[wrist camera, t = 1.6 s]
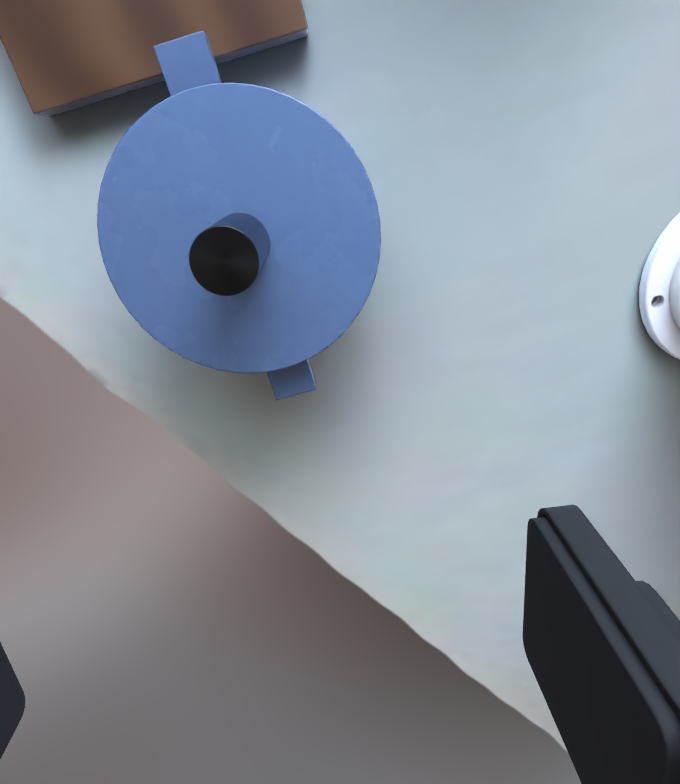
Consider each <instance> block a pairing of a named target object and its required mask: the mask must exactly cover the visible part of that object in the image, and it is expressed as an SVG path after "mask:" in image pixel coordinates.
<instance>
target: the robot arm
mask: <svg viewBox="0 0 680 784" xmlns="http://www.w3.org/2000/svg"><path fill="white" fill-rule="evenodd" d="M652 299H653V300H652ZM639 308H640V312H641V317H642V321H643V324H644V326H645V328H646V330H647V332H648V334H649V336H650V337H651V338H652V339H653V341H654V342H655V343H656V344H657V345H658V346H659V347H660V348H661V349H663V350H664V351H665V352H667V353H668V354H669V355H671V356H673V357H675V358H677V359H679V360H680V213H679V214H678V215H677V216H676V217H675V218H674V219H673V220H672V221H671V222H670V223H669V225H668V226H667V227H666V228H665V230H664V231H663V232H662V233H661V235H660V236H659V237H658V239H657V241H656V243H655V244H654V246H653V248H652V250H651V251H650V253H649V255H648V258H647V261H646V263H645V266H644V269H643V271H642V276H641V282H640V287H639ZM523 643H524V648H525V652H526V656H527V658H528V661H529V663H530V666H531V668H532V670H533V672H534V675H535V677H536V679H537V682H538V684H539V686H540V689H541V691H542V693H543V695H544V698H545V700H546V702H547V705H548V707H549V709H550V712H551V714H552V716H553V718H554V721H555V723H556V725H557V728H558V730H559V732H560V735H561V737H562V739H563V741H564V744H565V746H566V748H567V751H568V753H569V755H570V758H571V760H572V762H573V764H574V767H575V769H576V771H577V774H578V776H579V778H580V781H581V783H582V784H680V620H679V619H678V618H677V617H676V615H675V614H674V613H673V612H672V610H671V609H670V608H669V607H668V605H667V604H666V603H665V602H664V600H663V599H662V598H661V597H660V595H659V594H658V593H657V592H656V591H655V590H654V589H653V588H652V587H651V586H650V585H649V584H647V583H646V582H644V581H635V580H634V579H633V577H632V576H631V575H630V573H629V572H628V571H627V569H626V568H625V567H624V566H623V564H622V563H621V562H620V560H619V559H618V558H617V556H616V555H615V554H614V553H613V551H612V550H611V549H610V547H609V546H608V545H607V543H606V542H605V541H604V540H603V538H602V537H601V536H600V534H599V533H598V532H597V530H596V529H595V528H594V527H593V525H592V524H591V523H590V521H589V520H588V519H587V517H586V516H585V515H584V514H583V512H582V511H581V510H580V509H579V508H578V507H577V506H575V505H568V506H559V507H550V508H542V509H540V510H539V512H538V516H537V518H532V519H529V521H528V530H527V552H526V575H525V597H524V620H523ZM24 708H25V695H24V692H23V690H22V688H21V686H20V683H19V681H18V679H17V677H16V675H15V673H14V671H13V668H12V666H11V664H10V662H9V660H8V658H7V655H6V653H5V651H4V649H3V647H2V645H1V643H0V758H1V757H2V755H3V753H4V751H5V749H6V747H7V745H8V743H9V741H10V739H11V737H12V735H13V733H14V731H15V729H16V728H17V726H18V724H19V722H20V720H21V717H22V715H23V712H24Z"/></svg>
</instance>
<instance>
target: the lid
mask: <svg viewBox="0 0 680 784" xmlns="http://www.w3.org/2000/svg"><path fill="white" fill-rule="evenodd" d="M97 227H98V236H99V245H100V249H101V253H102V257H103V262H104V265H105V267H106V270H107V273H108V275H109V278H110V281H111V283H112V284H113V286H114V288H115V290H116V292H117V294H118V296H119V298H120V299H121V301H122V302H123V304H124V305H125V307H126V308H127V310H128V311H129V313H130V314H131V315H132V316H133V317H134V318H135V320H136V321H137V322H138V323H139V324H140V325H141V327H143V328H144V329H145V330H146V331H147V332H148V333H149V334H150V335H151V336H152V337H153V338H154V339H156V340H157V341H159V342H160V343H161V344H163V345H164V346H165V347H167V348H168V349H170V350H171V351H173V352H175V353H177V354H178V355H180V356H182V357H184V358H186V359H188V360H191V361H193V362H195V363H198V364H200V365H203V366H207V367H210V368H214V369H217V370H223V371H229V372H239V373H257V372H268V371H273V370H278V369H283V368H286V367H289V366H292V365H295V364H298V363H300V362H302V361H304V360H307V359H309V358H311V357H313V356H315V355H316V354H318V353H319V352H321V351H322V350H324V349H325V348H327V347H328V346H329V345H330V344H332V343H333V342H334V341H335V340H336V339H337V338H339V337H340V336H341V335H342V334H343V333H344V331H345V330H346V329H347V328H348V327H349V326H350V325H351V324H352V322H353V321H354V319H355V318H356V316H357V315H358V314H359V312H360V311H361V309H362V307H363V305H364V303H365V301H366V299H367V297H368V295H369V293H370V291H371V288H372V285H373V282H374V279H375V276H376V272H377V267H378V263H379V256H380V245H381V232H380V218H379V212H378V206H377V202H376V198H375V195H374V192H373V188H372V185H371V182H370V180H369V178H368V176H367V173H366V171H365V169H364V167H363V165H362V163H361V162H360V160H359V158H358V157H357V155H356V153H355V152H354V150H353V148H352V147H351V146H350V145H349V143H348V142H347V141H346V140H345V138H344V137H343V136H342V135H341V133H340V132H339V131H338V130H337V129H336V128H335V127H333V126H332V125H331V124H330V123H329V122H328V121H327V120H326V119H325V118H324V117H323V116H321V115H320V114H318V113H317V112H316V111H314V110H313V109H312V108H310V107H309V106H307V105H306V104H304V103H302V102H300V101H298V100H296V99H295V98H293V97H291V96H289V95H286V94H283V93H281V92H278V91H275V90H273V89H270V88H265V87H261V86H257V85H252V84H242V83H217V84H208V85H203V86H199V87H195V88H190V89H188V90H185V91H182V92H180V93H177V94H175V95H172V96H170V97H169V98H167V99H165V100H163V101H162V102H160V103H158V104H157V105H155V106H154V107H152V108H151V109H150V110H149V111H147V112H146V113H145V114H144V115H142V116H141V117H140V118H139V119H138V120H137V121H136V122H135V123H134V124H133V125H132V127H131V128H130V129H129V130H128V131H127V132H126V133H125V135H124V136H123V138H122V139H121V141H120V142H119V144H118V145H117V147H116V148H115V150H114V152H113V154H112V156H111V159H110V161H109V163H108V165H107V167H106V170H105V174H104V177H103V180H102V183H101V188H100V194H99V200H98V214H97Z"/></svg>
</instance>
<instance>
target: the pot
mask: <svg viewBox="0 0 680 784" xmlns="http://www.w3.org/2000/svg"><path fill="white" fill-rule="evenodd" d="M154 51H155V53H156V56H157V59H158V62H159V65H160V68H161V71H162V74H163V76H164V79H165V82H166V85H167V88H168V91H169V94H170V96H172V95H175V94H177V93H180V92H182V91H185V90H188V89H190V88H195V87H199V86H203V85H208V84H217V83H222V81H221V78H220V75H219V72H218V68H217V65H216V62H215V59H214V56H213V52H212V49H211V46H210V43H209V40H208V37H207V35H206V34H205V33H204V31H200V32H197V33H193V34H190V35H187V36H184V37H181V38H178V39H174V40H171V41H168V42H165V43H162V44H159V45H156V46H154ZM267 374H268V377H269V380H270V383H271V386H272V389H273V392H274V394H275V397H276V399H277V400H278V399H282V398H285V397H289V396H293V395H297V394H300V393H304V392H308V391H312V390H315V389H316V382H315V378H314V375H313V372H312V369H311V366H310V362H309V359H307V360H304V361H302V362H300V363H298V364H295V365H292V366H289V367H286V368H283V369H278V370H273V371H268V372H267Z"/></svg>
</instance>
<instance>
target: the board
mask: <svg viewBox="0 0 680 784" xmlns="http://www.w3.org/2000/svg"><path fill="white" fill-rule="evenodd" d="M200 31H204V33H205V34H206V35H207V37H208V40H209V43H210V46H211V49H212V52H213V56H214V59H215V62H216V65H217V64H220V63H223V62H226V61H229V60H233V59H236V58H239V57H242V56H245V55H249V54H252V53H255V52H258V51H261V50H265V49H268V48H271V47H274V46H277V45H281V44H284V43H287V42H290V41H294V40H297V39H300V38H303V37H306V36H308V26H307V22H306V18H305V14H304V10H303V6H302V2H301V0H0V38H1V40H2V43H3V45H4V47H5V49H6V52H7V54H8V56H9V59H10V61H11V63H12V65H13V68H14V70H15V72H16V74H17V77H18V79H19V81H20V83H21V86H22V88H23V90H24V92H25V95H26V97H27V99H28V101H29V104H30V106H31V108H32V111H33V113H34V114H38V115H45V116H53V115H56V114H59V113H63V112H66V111H69V110H72V109H75V108H79V107H82V106H85V105H88V104H91V103H95V102H98V101H101V100H104V99H108V98H111V97H114V96H117V95H120V94H124V93H127V92H130V91H133V90H136V89H140V88H143V87H146V86H149V85H152V84H156V83H159V82H162V81H165V79H164V76H163V74H162V71H161V68H160V65H159V62H158V59H157V56H156V53H155V51H154V46H156V45H159V44H162V43H165V42H168V41H171V40H174V39H178V38H181V37H184V36H187V35H190V34H193V33H197V32H200Z"/></svg>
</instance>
